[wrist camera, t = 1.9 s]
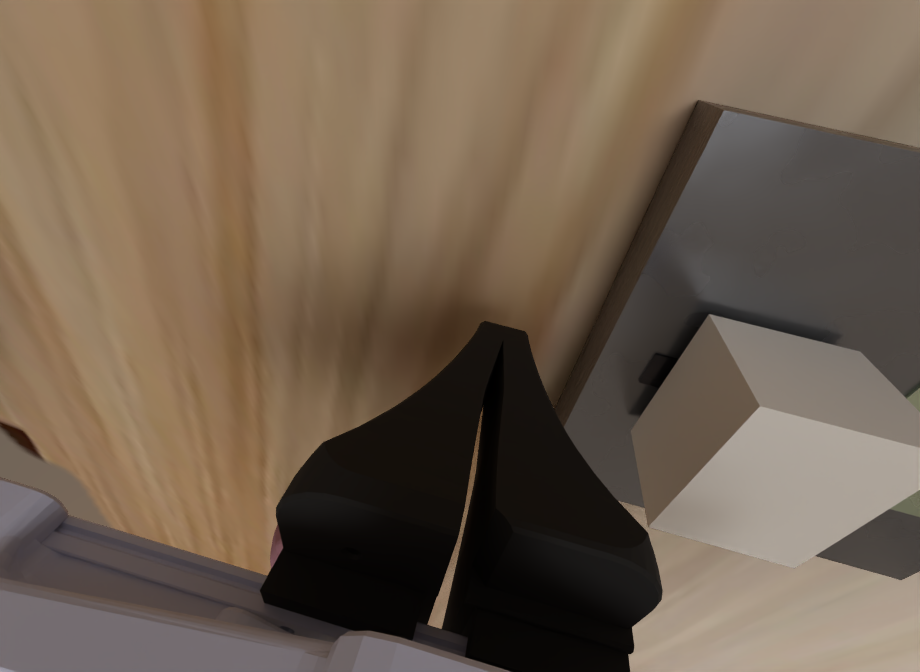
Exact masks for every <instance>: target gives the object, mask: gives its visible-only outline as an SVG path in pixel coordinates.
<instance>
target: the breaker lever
mask: <svg viewBox="0 0 920 672" xmlns="http://www.w3.org/2000/svg"><path fill="white" fill-rule="evenodd" d="M631 435H632V441H633V446H634V452H635V457H636V463H637V468H638V474H639V479H640V485H641V490H642V496H643V501H644V507H645V512H646V518H647V523H648V527H650V528H653V529H657V530H660V531H664V532H667V533H671V534H674V535H678V536H681V537H685V538H688V539H692V540H696V541H699V542H703V543H706V544H710V545H713V546H717V547H720V548H724V549H727V550H731V551H734V552H738V553H741V554H745V555H748V556H752V557H755V558H759V559H762V560H766V561H770V562H773V563H777V564H780V565H784V566H787V567H791V568H794V569H795V568H796V567H798V566H800V565H801V564H803V563H804V562H806V561H807V560H809V559H811V558H812V557H814V556H815V555H817V554H819V553H820V552H822V551H823V550H825V549H827V548H828V547H830V546H831V545H833V544H834V543H836V542H838V541H839V540H841V539H842V538H844V537H846V536H847V535H849V534H850V533H852V532H854V531H855V530H857V529H858V528H860V527H861V526H863V525H865V524H866V523H868V522H869V521H871V520H873V519H874V518H876V517H877V516H879V515H880V514H882V513H884V512H885V511H887V510H888V509H890V508H892V507H893V506H895V505H896V504H898V503H900V502H901V501H903V500H904V499H906V498H907V497H909V496H911V495H912V494H914V493H915V492H917V491H919V490H920V412H919V411H918V410H917V409H916V408H915V407H914V406H913V405H912V404H911V403H910V402H909V401H908V400H907V399H906V398H905V397H904V396H903V395H902V394H901V393H900V392H899V390H898V389H897V388H896V387H895V386H894V385H893V384H892V383H891V382H890V381H889V380H888V379H887V378H886V377H885V376H884V375H883V374H882V373H881V372H880V371H879V370H878V369H877V368H876V367H875V366H874V365H873V364H872V363H871V362H870V361H869V360H868V359H867V358H866V357H865V356H864V355H863V354H862V353H861V352H860V351H856V350H852V349H848V348H844V347H840V346H836V345H832V344H828V343H824V342H820V341H816V340H812V339H808V338H804V337H800V336H796V335H791V334H787V333H783V332H779V331H775V330H771V329H767V328H763V327H759V326H755V325H751V324H747V323H743V322H739V321H735V320H731V319H727V318H723V317H719V316H715V315H711V314H709V315H708V316H707V318H706V319H705V321H704V322H703V324H702V325H701V327H700V328H699V330H698V331H697V333H696V334H695V336H694V337H693V339H692V340H691V342H690V343H689V345H688V346H687V348H686V349H685V351H684V352H683V354H682V355H681V357H680V358H679V360H678V361H677V363H676V364H675V366H674V367H673V369H672V370H671V372H670V373H669V374H668V376H667V377H666V379H665V380H664V382H663V383H662V385H661V386H660V388H659V389H658V391H657V392H656V394H655V395H654V397H653V398H652V400H651V401H650V403H649V404H648V406H647V407H646V409H645V410H644V412H643V413H642V415H641V416H640V418H639V419H638V421H637V422H636V424H635V425H634V427H633V428H632V430H631Z"/></svg>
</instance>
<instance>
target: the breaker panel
mask: <svg viewBox="0 0 920 672" xmlns="http://www.w3.org/2000/svg"><path fill="white" fill-rule="evenodd" d="M709 314H711V315H715V316H719V317H723V318H727V319H731V320H735V321H739V322H743V323H747V324H751V325H755V326H759V327H763V328H767V329H771V330H775V331H779V332H783V333H787V334H791V335H796V336H800V337H804V338H808V339H812V340H816V341H820V342H824V343H828V344H832V345H836V346H840V347H844V348H848V349H852V350H856V351H860V352H861V353H862V354H863V355H864V356H865V357H866V358H867V359H868V360H869V361H870V362H871V363H872V364H873V365H874V366H875V367H876V368H877V369H878V370H879V371H880V372H881V373H882V374H883V375H884V376H885V377H886V378H887V379H888V380H889V381H890V382H891V383H892V384H893V385H894V386H895V387H896V388H897V389H898V390H899V392H900V393H901V394H902V395H903V396H904V397H905V398H906V399H907V400H908V401H909V402H910V403H911V404H912V405H913V406H914V407H915V408H916V409H917V410H918V411H919V412H920V148H917V147H913V146H908V145H904V144H899V143H894V142H890V141H885V140H881V139H876V138H871V137H867V136H862V135H857V134H853V133H848V132H844V131H839V130H834V129H830V128H825V127H821V126H816V125H811V124H807V123H802V122H797V121H793V120H788V119H784V118H779V117H774V116H770V115H765V114H761V113H756V112H751V111H747V110H742V109H738V108H733V107H728V106H724V105H719V104H714V103H710V102H705V101H701V100H698V102H697V105H696V107H695V109H694V111H693V113H692V115H691V118H690V120H689V122H688V124H687V126H686V128H685V130H684V133H683V135H682V137H681V139H680V141H679V143H678V146H677V148H676V150H675V152H674V154H673V156H672V158H671V161H670V163H669V165H668V167H667V169H666V171H665V173H664V176H663V178H662V180H661V182H660V184H659V186H658V189H657V191H656V193H655V195H654V197H653V199H652V201H651V204H650V206H649V208H648V210H647V212H646V214H645V217H644V219H643V221H642V223H641V225H640V227H639V229H638V232H637V234H636V236H635V238H634V240H633V242H632V244H631V247H630V249H629V251H628V253H627V255H626V257H625V260H624V262H623V264H622V266H621V268H620V270H619V272H618V275H617V277H616V279H615V281H614V283H613V285H612V288H611V290H610V292H609V294H608V296H607V298H606V300H605V303H604V305H603V307H602V309H601V311H600V313H599V315H598V318H597V320H596V322H595V324H594V326H593V328H592V331H591V333H590V335H589V337H588V339H587V341H586V343H585V346H584V348H583V350H582V352H581V354H580V356H579V359H578V361H577V363H576V365H575V367H574V369H573V371H572V374H571V376H570V378H569V380H568V382H567V384H566V386H565V389H564V391H563V393H562V395H561V397H560V399H559V402H558V404H557V406H556V408H555V412H556V414H557V416H558V418H559V420H560V422H561V423H562V425H563V427H564V429H565V430H566V432H567V434H568V435H569V437H570V439H571V440H572V442H573V443H574V445H575V447H576V448H577V450H578V451H579V452H580V454H581V455H582V456H583V458H584V459H585V461H586V462H587V463H588V465H589V466H590V468H591V469H592V470H593V472H594V473H595V474H596V476H597V477H598V478H599V479H600V480H601V482H602V483H603V484H604V485H605V487H606V488H607V489H608V490H609V491H610V493H611V494H612V495H613V496H614V497H615V498H616V500H618V501H622V502H625V503H629V504H632V505H636V506H640V507H643V508H645V507H644V501H643V496H642V490H641V485H640V479H639V474H638V468H637V463H636V457H635V452H634V446H633V441H632V435H631V430H632V428H633V427H634V425H635V424H636V422H637V421H638V419H639V418H640V416H641V415H642V413H643V412H644V410H645V409H646V407H647V406H648V404H649V403H650V401H651V400H652V398H653V397H654V395H655V394H656V392H657V391H658V389H659V388H660V386H661V385H662V383H663V382H664V380H665V379H666V377H667V376H668V374H669V373H670V372H671V370H672V369H673V367H674V366H675V364H676V363H677V361H678V360H679V358H680V357H681V355H682V354H683V352H684V351H685V349H686V348H687V346H688V345H689V343H690V342H691V340H692V339H693V337H694V336H695V334H696V333H697V331H698V330H699V328H700V327H701V325H702V324H703V322H704V321H705V319H706V318H707V316H708V315H709ZM815 556H817V557H821V558H825V559H828V560H832V561H835V562H839V563H842V564H846V565H850V566H853V567H857V568H860V569H864V570H867V571H871V572H874V573H878V574H882V575H885V576H889V577H892V578H896V579H899V580H902V579H905V578H907V577H909V576H911V575H913V574H915V573H917V572H919V571H920V490H919V491H917V492H915V493H914V494H912V495H911V496H909V497H907V498H906V499H904V500H903V501H901V502H900V503H898V504H896V505H895V506H893V507H892V508H890V509H888V510H887V511H885V512H884V513H882V514H880V515H879V516H877V517H876V518H874V519H873V520H871V521H869V522H868V523H866V524H865V525H863V526H861V527H860V528H858V529H857V530H855V531H854V532H852V533H850V534H849V535H847V536H846V537H844V538H842V539H841V540H839V541H838V542H836V543H834V544H833V545H831V546H830V547H828V548H827V549H825V550H823V551H822V552H820V553H819V554H817V555H815Z"/></svg>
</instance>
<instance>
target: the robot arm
mask: <svg viewBox="0 0 920 672" xmlns="http://www.w3.org/2000/svg"><path fill="white" fill-rule="evenodd" d="M483 405H484V406H483ZM482 408H483V415H482V423H481V432H480V441H479V450H478V459H477V468H476V474H475V481H474V486H473V491H472V495H471V500H470V505H469V510H468V514H467V519H466V523H465V528H464V533H463V537H462V542H461V546H460V551H459V555H458V560H457V564H456V569H455V573H454V578H453V582H452V587H451V591H450V596H449V600H448V604H447V609H446V613H445V618H444V622H443V626H442V629H439V628H436V627H433V626H429V625H427V624H428V621H429V618H430V615H431V612H432V609H433V606H434V603H435V600H436V597H437V596H438V594H439V591H440V588H441V585H442V582H443V579H444V577H445V574H446V571H447V568H448V565H449V562H450V559H451V556H452V553H453V550H454V548H455V545H456V542H457V539H458V535H459V531H460V527H461V522H462V517H463V512H464V507H465V502H466V495H467V489H468V482H469V476H470V470H471V464H472V458H473V452H474V446H475V441H476V435H477V430H478V424H479V419H480V414H481V411H482ZM276 518H277V522H278V527H279V531H280V536H281V540H282V545H283V549H282V551H281V552H280V554H279V556H278V558H277V560H276V561H275V563H274V565H273V567H272V569H271V571H270V572H269V574H268V576H266V575H263V574H260V573H256V572H253V571H250V570H247V569H243V568H240V567H237V566H234V565H230V564H227V563H224V562H221V561H217V560H214V559H211V558H207V557H204V556H201V555H198V554H194V553H191V552H188V551H185V550H181V549H178V548H175V547H172V546H168V545H165V544H162V543H159V542H155V541H152V540H149V539H145V538H142V537H139V536H136V535H132V534H129V533H126V532H123V531H119V530H116V529H113V528H110V527H106V526H103V525H100V524H96V523H93V522H90V521H87V520H83V519H80V518H77V517H74V516H70V515H68V511H67V509H66V508H65V506H64V505H63V504H62V503H61V502H60V501H59V500H58V499H57V498H56V497H54V496H53V495H51V494H49V493H47V492H45V491H43V490H40V489H38V488H34V487H31V486H28V485H24V484H21V483H18V482H15V481H11V480H8V479H5V478H1V477H0V672H630V666H629V657H628V654H631V653H633V651H634V641H633V633H632V626H634V625H635V624H636V623H638V622H639V621H640V620H641V619H643V618H644V617H645V616H646V615H648V614H649V613H650V612H651V611H653V610H654V608H655V607H656V606H657V605H658V604H659V602H660V601H661V599H662V585H661V580H660V575H659V570H658V566H657V562H656V558H655V554H654V551H653V548H652V545H651V542H650V538H649V535H648V532H647V531H646V530H645V529H644V528H643V527H642V526H641V525H640V524H639V523H638V522H637V521H636V520H635V519H634V518H633V517H632V515H631V514H630V513H629V512H628V511H627V510H626V509H625V508H624V507H623V506H622V505H621V504H620V503H619V502H618V501H617V500H616V498H615V497H614V496H613V495H612V494H611V493H610V491H609V490H608V489H607V488H606V487H605V485H604V484H603V483H602V482H601V480H600V479H599V478H598V477H597V476H596V474H595V473H594V472H593V470H592V469H591V468H590V466H589V465H588V463H587V462H586V461H585V459H584V458H583V456H582V455H581V454H580V452H579V451H578V450H577V448H576V447H575V445H574V443H573V442H572V440H571V439H570V437H569V435H568V434H567V432H566V430H565V429H564V427H563V425H562V423H561V422H560V420H559V418H558V416H557V414H556V412H555V410H554V408H553V406H552V404H551V402H550V400H549V398H548V396H547V393H546V391H545V389H544V386H543V384H542V381H541V379H540V376H539V373H538V371H537V368H536V365H535V362H534V359H533V355H532V352H531V348H530V344H529V340H528V335H527V334H526V332H525V331H522V330H518V329H514V328H510V327H506V326H502V325H498V324H494V323H490V322H487V321H484V322H482V323H480V326H479V328H478V329H477V331H476V333H475V334H474V336H473V337H472V338H471V340H470V341H469V342H468V344H467V345H466V346H465V347H464V348H463V349H462V350H461V352H460V353H459V354H458V355H457V356H456V357H455V358H454V359H453V360H452V361H451V362H450V363H449V364H448V365H447V366H446V367H445V368H444V369H443V370H442V371H441V372H440V373H439V374H438V375H437V376H435V377H434V378H433V379H432V380H431V381H430V382H428V383H427V384H426V385H425V386H423V387H422V388H421V389H420V390H418V391H417V392H416V393H414V394H413V395H411V396H410V397H408V398H407V399H405V400H404V401H403V402H401V403H400V404H398V405H396V406H395V407H393V408H392V409H390V410H388V411H386V412H385V413H383V414H381V415H379V416H377V417H376V418H374V419H372V420H370V421H368V422H367V423H365V424H363V425H361V426H359V427H357V428H355V429H352V430H350V431H348V432H346V433H343V434H341V435H339V436H337V437H334V438H332V439H330V440H327V441H325V442H323V443H322V444H321V445H320V446H319V447H318V448H317V450H316V451H315V452H314V453H313V454H312V455H311V456H310V457H309V459H308V460H307V461H306V462H305V464H304V465H303V466H302V467H301V469H300V470H299V471H298V473H297V474H296V475H295V477H294V478H293V480H292V482H291V483H290V485H289V487H288V488H287V490H286V492H285V493H284V495H283V497H282V498H281V500H280V502H279V503H278V505H277V507H276Z"/></svg>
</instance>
